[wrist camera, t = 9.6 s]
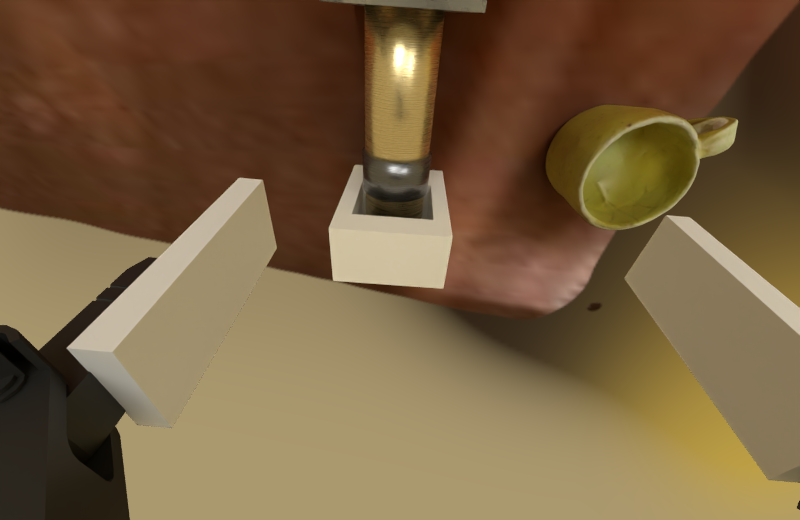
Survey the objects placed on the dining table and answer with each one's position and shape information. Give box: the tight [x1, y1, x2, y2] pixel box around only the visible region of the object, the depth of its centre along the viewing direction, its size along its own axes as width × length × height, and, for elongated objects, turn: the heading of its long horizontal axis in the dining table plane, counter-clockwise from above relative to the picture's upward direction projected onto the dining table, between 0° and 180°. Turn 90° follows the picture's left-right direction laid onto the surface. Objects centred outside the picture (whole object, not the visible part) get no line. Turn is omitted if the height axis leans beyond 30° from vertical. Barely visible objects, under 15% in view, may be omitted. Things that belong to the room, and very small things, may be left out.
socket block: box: [329, 165, 453, 289], centre depth 30 cm, size 5×9×12 cm, turn 87°
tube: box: [363, 4, 445, 219], centre depth 24 cm, size 17×5×5 cm, turn 177°
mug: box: [545, 105, 738, 230], centre depth 29 cm, size 12×10×10 cm
